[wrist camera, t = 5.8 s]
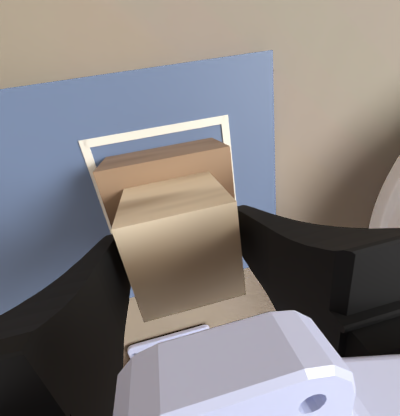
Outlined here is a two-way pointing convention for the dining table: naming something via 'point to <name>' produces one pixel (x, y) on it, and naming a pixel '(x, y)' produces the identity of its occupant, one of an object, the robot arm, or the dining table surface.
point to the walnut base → (162, 168)
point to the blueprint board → (117, 152)
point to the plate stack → (388, 201)
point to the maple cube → (179, 244)
